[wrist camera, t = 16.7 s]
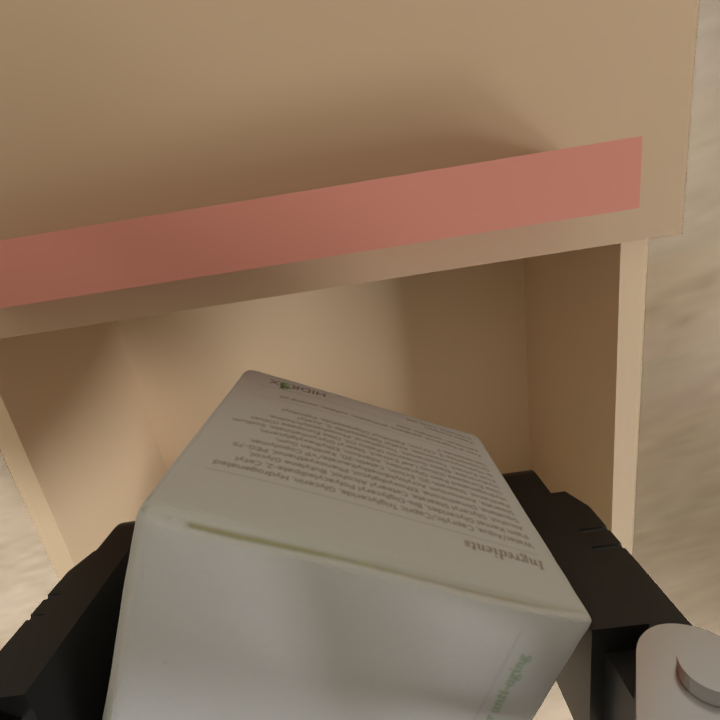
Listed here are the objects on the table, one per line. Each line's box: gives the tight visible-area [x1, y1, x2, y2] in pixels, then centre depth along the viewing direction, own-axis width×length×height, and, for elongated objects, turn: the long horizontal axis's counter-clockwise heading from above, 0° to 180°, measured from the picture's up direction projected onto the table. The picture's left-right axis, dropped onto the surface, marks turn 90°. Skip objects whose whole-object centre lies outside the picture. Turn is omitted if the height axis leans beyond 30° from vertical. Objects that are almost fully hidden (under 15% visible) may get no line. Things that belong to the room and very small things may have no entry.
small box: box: [102, 370, 592, 720], centre depth 8 cm, size 6×6×5 cm
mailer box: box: [0, 239, 648, 581], centre depth 13 cm, size 18×16×6 cm
